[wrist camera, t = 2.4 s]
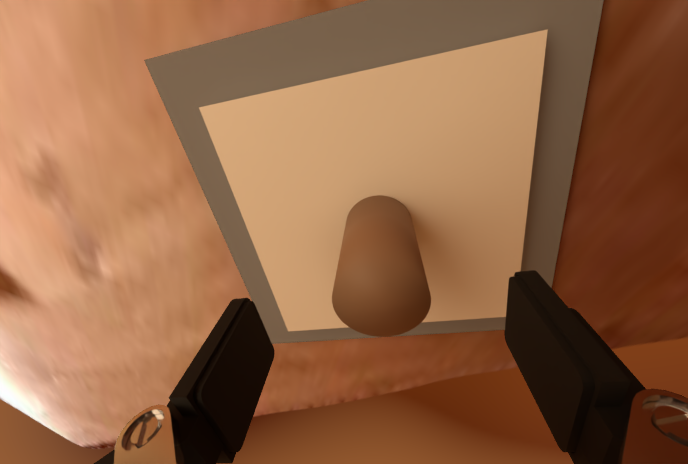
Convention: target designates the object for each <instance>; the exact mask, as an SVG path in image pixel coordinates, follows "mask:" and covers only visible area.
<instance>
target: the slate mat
mask: <svg viewBox="0 0 688 464" xmlns="http://www.w3.org/2000/svg"><path fill="white" fill-rule="evenodd" d="M603 1H604V0H368V1H364V2H360V3H357V4H353V5H349V6H345V7H342V8H338V9H334V10H330V11H327V12H323V13H319V14H315V15H312V16H308V17H304V18H300V19H297V20H293V21H289V22H285V23H282V24H278V25H274V26H270V27H267V28H263V29H259V30H255V31H252V32H248V33H244V34H240V35H237V36H233V37H229V38H225V39H222V40H218V41H214V42H210V43H207V44H203V45H199V46H195V47H192V48H188V49H184V50H180V51H177V52H173V53H169V54H165V55H162V56H158V57H154V58H150V59H147V60H144V61H145V63H146V65H147V67H148V70H149V72H150V74H151V76H152V79H153V81H154V83H155V85H156V87H157V90H158V92H159V94H160V96H161V99H162V101H163V103H164V105H165V107H166V110H167V112H168V114H169V116H170V119H171V121H172V123H173V125H174V128H175V130H176V132H177V134H178V136H179V139H180V141H181V143H182V145H183V148H184V150H185V152H186V154H187V156H188V159H189V161H190V163H191V165H192V168H193V170H194V172H195V174H196V176H197V179H198V181H199V183H200V185H201V188H202V190H203V192H204V194H205V197H206V199H207V201H208V203H209V205H210V208H211V210H212V212H213V214H214V217H215V219H216V221H217V223H218V225H219V228H220V230H221V232H222V234H223V237H224V239H225V241H226V243H227V245H228V248H229V250H230V252H231V254H232V257H233V259H234V261H235V263H236V266H237V268H238V270H239V272H240V274H241V277H242V279H243V281H244V283H245V286H246V288H247V290H248V292H249V294H250V297H251V299H252V301H253V302H254V304H255V306H256V308H257V310H258V313H259V315H260V317H261V320H262V322H263V324H264V327H265V329H266V331H267V334H268V336H269V338H270V341H271V343H272V344H274V343H291V342H308V341H324V340H341V339H358V338H374V337H377V336H370V335H366V334H362V333H359V332H357V331H355V330H353V329H351V328H350V327H347V328H332V329H317V330H303V331H288V330H287V327H286V325H285V322H284V320H283V317H282V315H281V312H280V310H279V307H278V305H277V302H276V300H275V297H274V295H273V292H272V290H271V287H270V285H269V282H268V280H267V277H266V275H265V272H264V270H263V267H262V265H261V262H260V259H259V257H258V254H257V252H256V249H255V247H254V244H253V242H252V239H251V237H250V234H249V232H248V229H247V227H246V224H245V222H244V219H243V217H242V214H241V212H240V209H239V207H238V204H237V202H236V199H235V197H234V194H233V192H232V189H231V187H230V184H229V182H228V179H227V177H226V174H225V172H224V169H223V167H222V164H221V162H220V159H219V157H218V154H217V152H216V149H215V147H214V144H213V142H212V139H211V137H210V134H209V132H208V129H207V127H206V124H205V122H204V119H203V117H202V114H201V112H200V109H199V107H203V106H208V105H212V104H217V103H221V102H226V101H230V100H235V99H239V98H243V97H248V96H252V95H257V94H261V93H266V92H270V91H275V90H279V89H284V88H288V87H293V86H297V85H301V84H306V83H310V82H315V81H319V80H324V79H328V78H333V77H337V76H342V75H346V74H351V73H355V72H359V71H364V70H368V69H373V68H377V67H382V66H386V65H391V64H395V63H400V62H404V61H408V60H413V59H417V58H422V57H426V56H431V55H435V54H440V53H444V52H449V51H453V50H458V49H462V48H466V47H471V46H475V45H480V44H484V43H489V42H493V41H498V40H502V39H507V38H511V37H515V36H520V35H524V34H529V33H533V32H538V31H542V30H547V29H548V32H547V40H546V49H545V58H544V67H543V76H542V85H541V94H540V102H539V111H538V120H537V129H536V138H535V147H534V156H533V165H532V173H531V182H530V191H529V200H528V209H527V218H526V227H525V235H524V244H523V253H522V262H521V271H530V270H535V271H537V272H538V273H539V274H540V276H541V277H542V278H543V279H544V280H545V281H546V283H547V284H548V285H549V286H550V287H551V288H552V283H553V277H554V272H555V266H556V261H557V255H558V250H559V244H560V239H561V233H562V228H563V222H564V217H565V211H566V205H567V200H568V194H569V189H570V183H571V178H572V172H573V167H574V161H575V156H576V150H577V145H578V139H579V134H580V128H581V123H582V117H583V112H584V106H585V101H586V95H587V89H588V84H589V78H590V73H591V67H592V62H593V56H594V51H595V45H596V40H597V34H598V29H599V23H600V18H601V12H602V7H603ZM505 321H506V317H495V318H481V319H466V320H451V321H436V322H421V323H420V324H419V325H418V326H416V327H415V328H414V329H412V330H410V331H408V332H406V333H403V334H400V335H395V336H407V335H424V334H441V333H457V332H474V331H491V330H505ZM389 337H391V336H389Z"/></svg>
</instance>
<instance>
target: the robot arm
mask: <svg viewBox="0 0 688 464" xmlns="http://www.w3.org/2000/svg"><path fill="white" fill-rule="evenodd" d="M505 340H506V343H507V345H508V347H509V349H510V351H511V353H512V355H513V357H514V359H515V361H516V363H517V365H518V367H519V369H520V371H521V373H522V375H523V377H524V379H525V381H526V383H527V385H528V387H529V389H530V391H531V393H532V395H533V397H534V399H535V400H536V403H537V405H538V406H539V409H540V411H541V412H542V415H543V417H544V419H545V420H546V423H547V424H548V426H549V428H550V430H551V432H552V434H553V436H554V438H555V440H556V442H557V444H558V446H559V448H560V449H561V450H562V451H563V452H568V453H569V455H570V457H571V459H572V461H573V463H574V464H688V398H686V397H684V396H682V395H679V394H676V393H673V392H669V391H666V390H659V389H645V387H643V385H642V384H641V383H640V382H639V381H638V379H637V378H636V377H635V376H634V375H633V374H632V373H631V372H630V370H629V369H628V368H627V367H626V366H625V365H624V364H623V362H622V361H621V360H620V359H619V358H618V357H617V356H616V355H615V353H614V352H613V351H612V350H611V349H610V348H609V347H608V345H607V344H606V343H605V342H604V341H603V340H602V339H601V337H600V336H599V335H598V334H597V333H596V332H595V331H594V330H593V328H592V327H591V326H590V325H589V324H588V323H587V322H586V320H585V319H584V318H583V317H582V316H581V315H580V314H579V313H578V312H577V311H576V310H574V309H572V308H568V307H567V306H566V305H565V304H564V302H563V301H562V300H561V299H560V298H559V297H558V295H557V294H556V293H555V292H554V291H553V290H552V288H551V287H550V286H549V285H548V284H547V283H546V281H545V280H544V279H543V278H542V277H541V276H540V274H539V273H538V272H537V271H535V270H530V271H520V272H515V274H514V276H513V277H510V278H509V284H508V296H507V309H506V321H505ZM273 359H274V348H273V345H272V343H271V341H270V338H269V336H268V334H267V331H266V329H265V327H264V324H263V322H262V320H261V317H260V315H259V313H258V310H257V308H256V306H255V304H254V302H253V301H250V299H248V298H241V299H233V300H232V301H231V302H230V303H229V305H228V307H227V308H226V310H225V311H224V313H223V314H222V316H221V317H220V319H219V321H218V322H217V324H216V325H215V327H214V328H213V330H212V331H211V333H210V335H209V336H208V338H207V339H206V341H205V342H204V344H203V345H202V347H201V349H200V350H199V352H198V353H197V355H196V356H195V358H194V359H193V361H192V363H191V364H190V366H189V367H188V369H187V370H186V372H185V373H184V375H183V377H182V378H181V380H180V381H179V383H178V384H177V386H176V387H175V389H174V391H173V392H172V394H171V395H170V397H169V399H170V402H169V403H168V405H167V406H165V405H160V404H158V405H154V406H151V407H149V408H147V409H144V410H143V411H141V412H140V413H138V414H137V415H136V416H134V417H133V418H132V419H131V420H130V421H129V422H128V423H127V424H126V426H125V427H124V428H123V430H122V431H121V433H120V434H119V436H118V438H117V441H116V445H115V450H113V451H112V452H110V453H109V454H107V455H106V456H104V457H103V458H101V459H100V460H99V461H97V462H96V463H94V464H216V463H232V462H233V460H234V457H235V454H236V452H238V451H240V449H241V447H242V445H243V442H244V440H245V437H246V434H247V431H248V428H249V426H250V423H251V420H252V417H253V415H254V412H255V409H256V406H257V403H258V401H259V398H260V395H261V392H262V389H263V387H264V384H265V381H266V378H267V375H268V373H269V370H270V367H271V364H272V361H273Z"/></svg>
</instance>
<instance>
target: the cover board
mask: <svg viewBox="0 0 688 464" xmlns="http://www.w3.org/2000/svg"><path fill="white" fill-rule="evenodd" d="M547 32H548V29H547V30H542V31H538V32H533V33H529V34H524V35H520V36H515V37H511V38H507V39H502V40H498V41H493V42H489V43H484V44H480V45H475V46H471V47H466V48H462V49H458V50H453V51H449V52H444V53H440V54H435V55H431V56H426V57H422V58H417V59H413V60H408V61H404V62H400V63H395V64H391V65H386V66H382V67H377V68H373V69H368V70H364V71H359V72H355V73H351V74H346V75H342V76H337V77H333V78H328V79H324V80H319V81H315V82H310V83H306V84H301V85H297V86H293V87H288V88H284V89H279V90H275V91H270V92H266V93H261V94H257V95H252V96H248V97H243V98H239V99H235V100H230V101H226V102H221V103H217V104H212V105H208V106H203V107H199V109H200V112H201V114H202V117H203V119H204V122H205V124H206V127H207V129H208V132H209V134H210V137H211V139H212V142H213V144H214V147H215V149H216V152H217V154H218V157H219V159H220V162H221V164H222V167H223V169H224V172H225V174H226V177H227V179H228V182H229V184H230V187H231V189H232V192H233V194H234V197H235V199H236V202H237V204H238V207H239V209H240V212H241V214H242V217H243V219H244V222H245V224H246V227H247V229H248V232H249V234H250V237H251V239H252V242H253V244H254V247H255V249H256V252H257V254H258V257H259V259H260V262H261V265H262V267H263V270H264V272H265V275H266V277H267V280H268V282H269V285H270V287H271V290H272V292H273V295H274V297H275V300H276V302H277V305H278V307H279V310H280V312H281V315H282V317H283V320H284V322H285V325H286V327H287V330H288V331H303V330H317V329H332V328H347V327H350V328H351V329H353V330H355V331H357V332H359V333H362V334H366V335H370V336H377V337H389V336H395V335H400V334H403V333H406V332H408V331H410V330H412V329H414V328H415V327H416V326H418V325H419V324H420V323H421V322H436V321H451V320H466V319H481V318H495V317H506V309H507V296H508V284H509V278H510V277H513V276H514V274H515V272H520V271H521V262H522V253H523V244H524V235H525V227H526V218H527V209H528V200H529V191H530V182H531V173H532V165H533V156H534V147H535V138H536V129H537V120H538V111H539V102H540V94H541V85H542V76H543V67H544V58H545V49H546V40H547Z"/></svg>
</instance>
